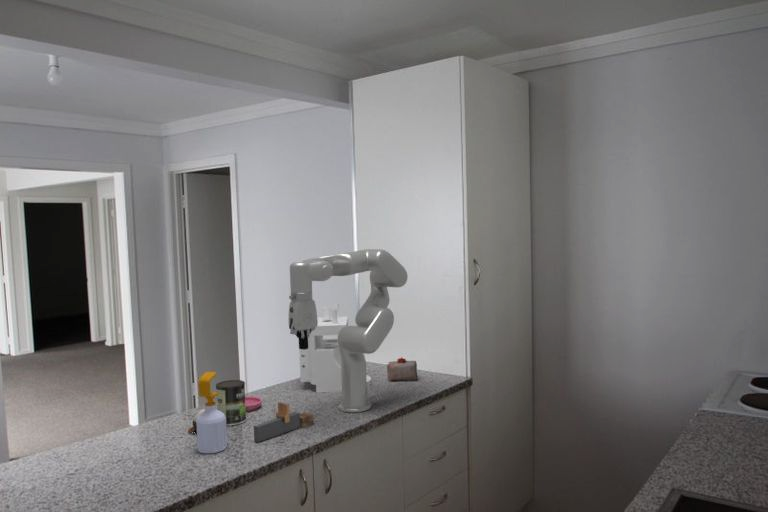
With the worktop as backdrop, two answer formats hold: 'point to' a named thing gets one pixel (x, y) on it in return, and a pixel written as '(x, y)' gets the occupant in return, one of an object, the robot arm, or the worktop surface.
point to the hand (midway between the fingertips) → (303, 348)
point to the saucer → (252, 403)
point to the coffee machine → (324, 353)
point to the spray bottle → (210, 420)
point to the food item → (402, 370)
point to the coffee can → (232, 401)
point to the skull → (194, 428)
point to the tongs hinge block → (306, 420)
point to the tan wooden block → (283, 412)
